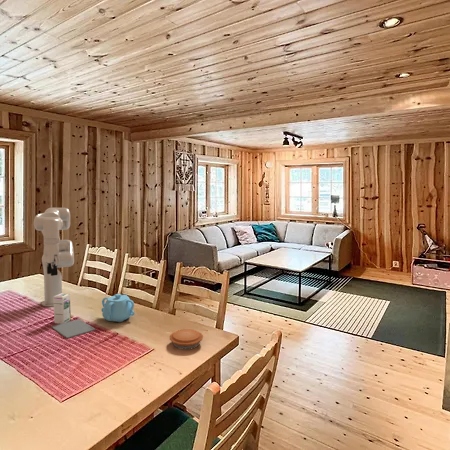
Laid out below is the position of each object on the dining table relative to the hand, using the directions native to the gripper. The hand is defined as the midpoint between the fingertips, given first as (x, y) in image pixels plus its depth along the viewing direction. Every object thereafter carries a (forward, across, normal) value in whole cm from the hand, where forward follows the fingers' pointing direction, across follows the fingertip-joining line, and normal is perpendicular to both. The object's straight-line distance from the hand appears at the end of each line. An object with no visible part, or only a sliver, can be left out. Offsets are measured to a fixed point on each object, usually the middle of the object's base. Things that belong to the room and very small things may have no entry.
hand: (52, 274), depth 181 cm
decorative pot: (+24, +28, +23) cm, 43 cm away
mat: (+23, +25, 0) cm, 34 cm away
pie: (+24, +77, +29) cm, 86 cm away
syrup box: (+24, +12, 0) cm, 26 cm away
